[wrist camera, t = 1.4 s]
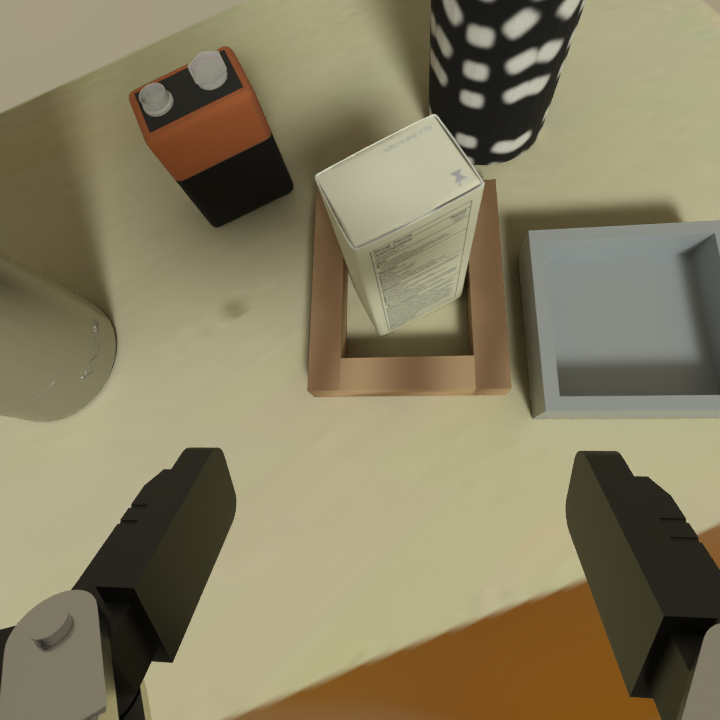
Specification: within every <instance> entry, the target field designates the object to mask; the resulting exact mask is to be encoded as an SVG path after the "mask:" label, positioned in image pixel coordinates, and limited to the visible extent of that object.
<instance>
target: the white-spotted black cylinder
mask: <svg viewBox="0 0 720 720" xmlns="http://www.w3.org/2000/svg"><path fill="white" fill-rule="evenodd" d="M585 1H586V0H431V28H430V68H429V109H428V116H430V115H432V114H436V115H437V116H438V117H439V118H440V120H441V121H442V122H443V124H444V125H445V126H446V128H447V129H448V130H449V132H450V133H451V134H452V136H453V137H454V138H455V140H456V142H457V143H458V145H459V146H460V147H461V149H462V150H463V152H464V153H465V154H466V156H467V158H468V159H469V160H470V162H471V164H474V165H491V164H499V163H502V162H506V161H509V160H511V159H513V158H515V157H517V156H519V155H521V154H522V153H523V152H525V151H526V150H528V149H529V148H530V146H531V145H532V144H533V143H534V142H535V141H536V139H537V138H538V136H539V134H540V132H541V130H542V127H543V124H544V121H545V118H546V115H547V112H548V109H549V106H550V103H551V100H552V98H553V95H554V92H555V89H556V86H557V83H558V80H559V77H560V74H561V71H562V68H563V65H564V63H565V60H566V57H567V54H568V51H569V48H570V45H571V42H572V39H573V36H574V33H575V31H576V28H577V25H578V22H579V19H580V16H581V13H582V10H583V7H584V4H585Z"/></svg>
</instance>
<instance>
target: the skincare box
mask: <svg viewBox="0 0 720 720" xmlns="http://www.w3.org/2000/svg"><path fill="white" fill-rule="evenodd" d="M315 181H316V183H317V186H318V189H319V191H320V194H321V197H322V199H323V202H324V205H325V207H326V210H327V213H328V216H329V219H330V221H331V224H332V227H333V229H334V232H335V235H336V237H337V240H338V243H339V246H340V248H341V251H342V254H343V257H344V259H345V262H346V265H347V268H348V270H349V273H350V276H351V279H352V282H353V284H354V287H355V289H356V291H357V293H358V295H359V297H360V299H361V301H362V303H363V305H364V307H365V309H366V311H367V313H368V315H369V317H370V319H371V321H372V323H373V325H374V326H375V328H376V330H377V332H378V334H379V335H381V336H383V335H385V334H388V333H390V332H392V331H394V330H396V329H398V328H400V327H403V326H405V325H407V324H409V323H411V322H413V321H415V320H417V319H419V318H421V317H423V316H425V315H427V314H429V313H431V312H433V311H435V310H437V309H439V308H441V307H443V306H445V305H446V304H448V303H450V302H452V301H454V300H456V299H458V298H459V297H461V295H462V290H463V285H464V280H465V275H466V270H467V266H468V261H469V256H470V251H471V246H472V242H473V237H474V232H475V228H476V223H477V218H478V213H479V208H480V204H481V199H482V194H483V190H484V185H485V183H484V181H483V180H482V179H481V177H480V176H479V174H478V172H477V171H476V169H475V168H474V166H473V165H472V164H471V162H470V160H469V159H468V158H467V156H466V154H465V153H464V152H463V150H462V149H461V147H460V146H459V145H458V143H457V142H456V140H455V138H454V137H453V136H452V134H451V133H450V132H449V130H448V129H447V128H446V126H445V125H444V124H443V122H442V121H441V120H440V118H439V117H438V116H437V115H436V114H432V115H430V116H428V117H426V118H424V119H421V120H419V121H417V122H415V123H413V124H411V125H409V126H407V127H405V128H403V129H401V130H399V131H397V132H395V133H393V134H391V135H389V136H387V137H385V138H383V139H381V140H379V141H377V142H376V143H374V144H372V145H370V146H368V147H366V148H364V149H363V150H360V151H358V152H357V153H355V154H353V155H351V156H349V157H347V158H345V159H343V160H342V161H340V162H338V163H336V164H334V165H332V166H330V167H328V168H326V169H325V170H323V171H321V172H319V173H317V174H316V175H315Z"/></svg>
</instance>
